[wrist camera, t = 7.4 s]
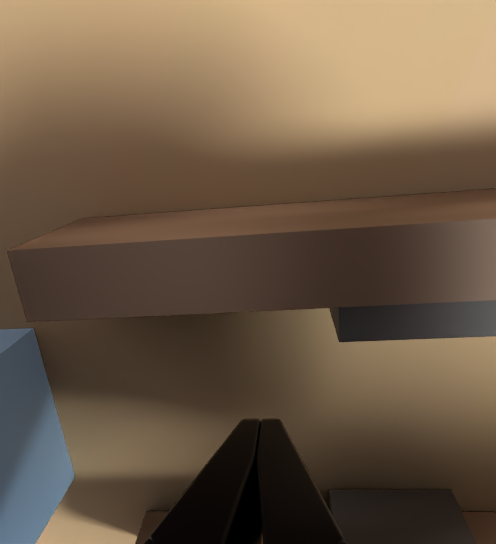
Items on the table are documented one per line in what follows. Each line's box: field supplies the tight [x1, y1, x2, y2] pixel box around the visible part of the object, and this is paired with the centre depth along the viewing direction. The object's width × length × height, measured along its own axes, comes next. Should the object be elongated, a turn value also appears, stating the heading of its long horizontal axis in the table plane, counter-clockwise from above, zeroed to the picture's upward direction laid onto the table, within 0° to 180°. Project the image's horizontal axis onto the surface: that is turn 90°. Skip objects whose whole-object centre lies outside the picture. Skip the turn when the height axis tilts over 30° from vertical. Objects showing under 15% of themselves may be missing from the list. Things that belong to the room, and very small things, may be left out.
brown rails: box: [7, 189, 496, 544], centre depth 8 cm, size 12×9×2 cm
